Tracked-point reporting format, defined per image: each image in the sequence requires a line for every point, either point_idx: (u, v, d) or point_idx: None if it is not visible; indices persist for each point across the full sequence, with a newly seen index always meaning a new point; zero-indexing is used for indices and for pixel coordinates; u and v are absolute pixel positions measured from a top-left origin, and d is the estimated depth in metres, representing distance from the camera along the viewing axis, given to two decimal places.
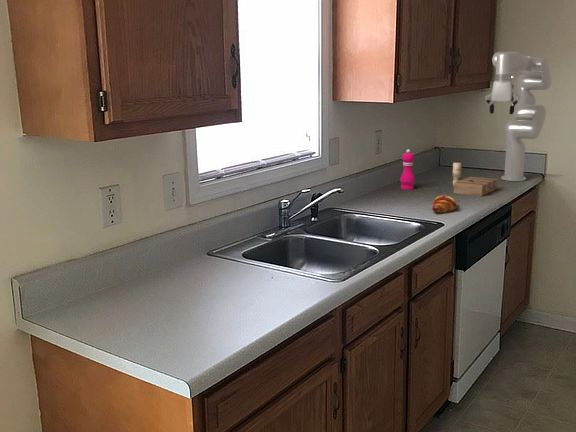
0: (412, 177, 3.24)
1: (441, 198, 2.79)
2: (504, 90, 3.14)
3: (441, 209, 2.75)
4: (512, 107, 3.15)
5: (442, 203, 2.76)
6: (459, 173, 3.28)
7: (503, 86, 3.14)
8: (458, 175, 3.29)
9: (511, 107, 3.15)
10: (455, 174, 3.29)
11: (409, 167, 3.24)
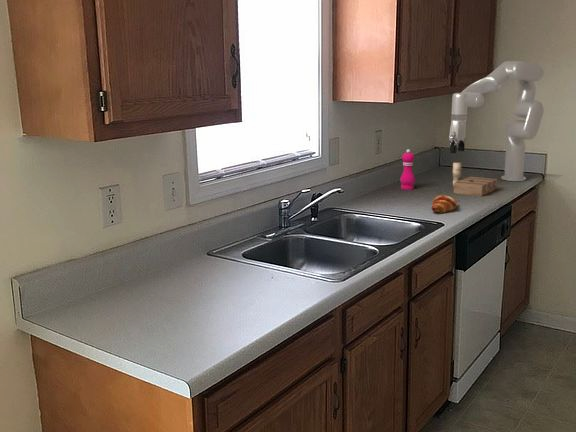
0: (412, 177, 3.24)
1: (441, 198, 2.79)
2: (464, 129, 3.25)
3: (440, 209, 2.75)
4: None
5: (441, 203, 2.77)
6: (459, 173, 3.28)
7: (464, 125, 3.24)
8: (458, 175, 3.29)
9: None
10: (455, 174, 3.29)
11: (409, 167, 3.24)
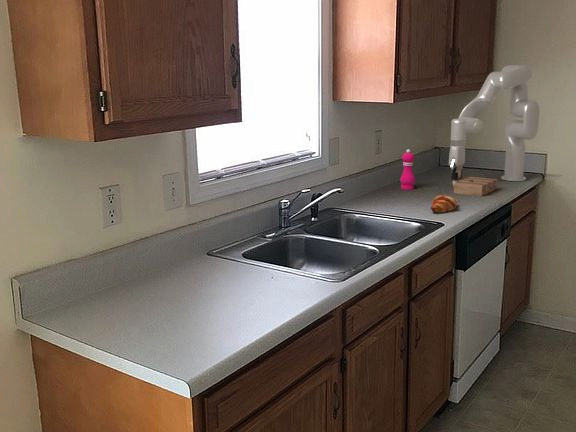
0: (412, 177, 3.24)
1: (440, 198, 2.79)
2: (463, 154, 3.28)
3: (439, 209, 2.75)
4: None
5: (441, 203, 2.77)
6: (459, 173, 3.28)
7: (463, 150, 3.27)
8: (458, 175, 3.29)
9: None
10: None
11: (409, 167, 3.24)
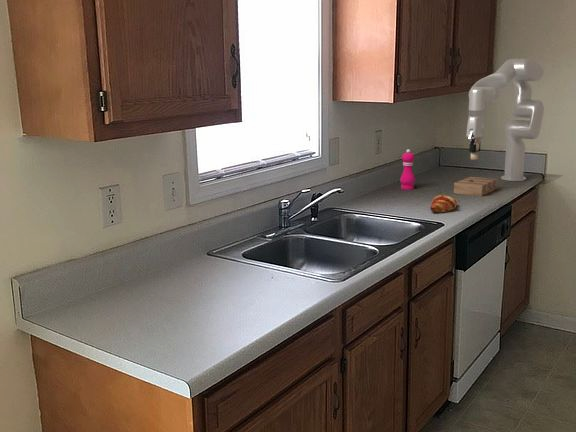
0: (412, 177, 3.24)
1: (440, 198, 2.79)
2: (482, 125, 3.13)
3: (439, 209, 2.75)
4: None
5: (440, 203, 2.77)
6: (477, 145, 3.13)
7: (482, 122, 3.12)
8: (476, 147, 3.13)
9: None
10: None
11: (409, 167, 3.24)
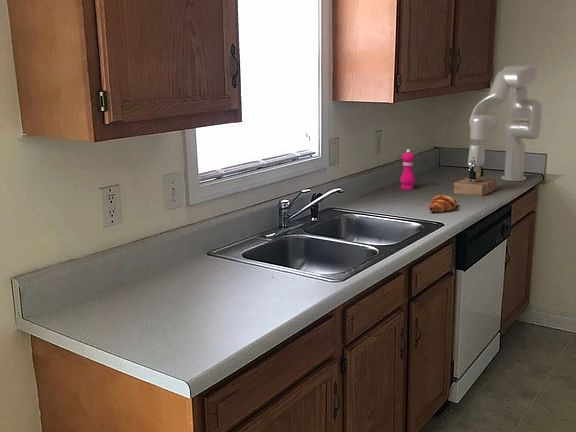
0: (412, 177, 3.24)
1: (439, 198, 2.80)
2: (483, 154, 3.14)
3: (437, 208, 2.76)
4: None
5: (439, 203, 2.77)
6: (478, 175, 3.15)
7: (483, 150, 3.13)
8: (477, 178, 3.15)
9: None
10: None
11: (409, 167, 3.24)
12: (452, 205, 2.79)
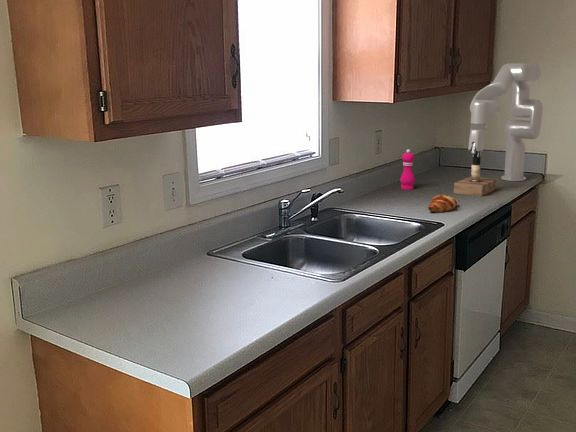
0: (412, 177, 3.24)
1: (438, 197, 2.80)
2: (484, 138, 3.12)
3: (436, 208, 2.76)
4: None
5: (438, 202, 2.78)
6: (478, 175, 3.15)
7: (483, 135, 3.11)
8: (477, 177, 3.15)
9: None
10: (474, 177, 3.15)
11: (409, 167, 3.24)
12: (451, 205, 2.79)
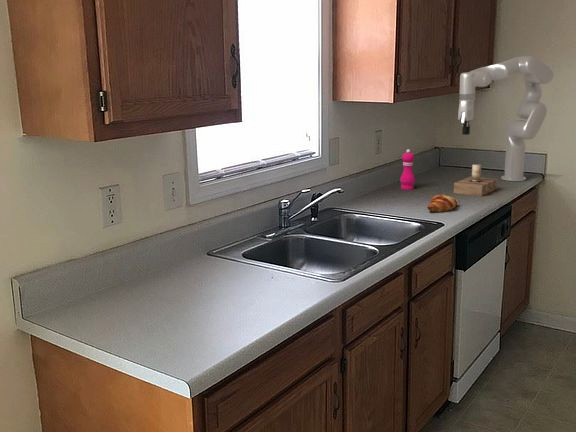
0: (412, 177, 3.24)
1: (438, 197, 2.80)
2: (472, 108, 3.24)
3: (436, 208, 2.77)
4: None
5: (438, 202, 2.78)
6: (478, 175, 3.15)
7: (472, 105, 3.23)
8: (477, 178, 3.15)
9: None
10: (474, 176, 3.16)
11: (409, 167, 3.24)
12: (451, 205, 2.79)
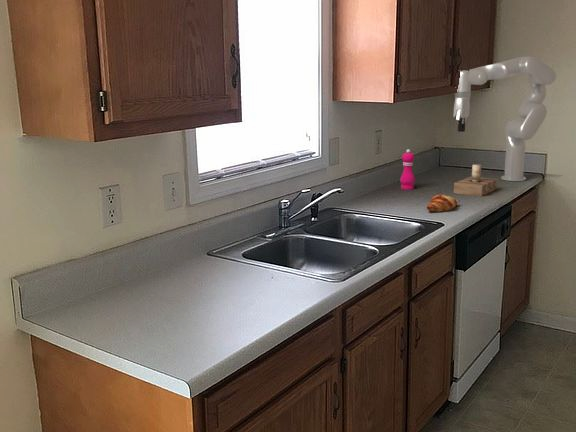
0: (412, 177, 3.24)
1: (438, 197, 2.81)
2: (468, 106, 3.30)
3: (435, 208, 2.77)
4: None
5: (437, 202, 2.78)
6: (478, 175, 3.15)
7: (468, 102, 3.29)
8: (477, 178, 3.15)
9: None
10: (474, 177, 3.16)
11: (409, 167, 3.24)
12: (450, 205, 2.79)
